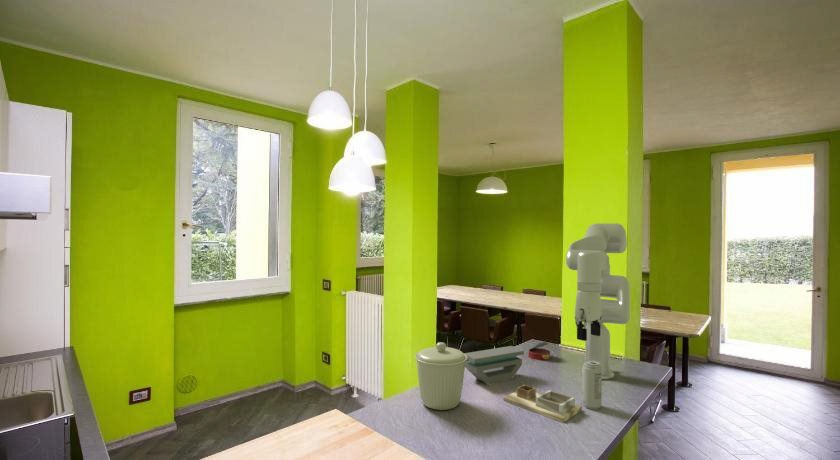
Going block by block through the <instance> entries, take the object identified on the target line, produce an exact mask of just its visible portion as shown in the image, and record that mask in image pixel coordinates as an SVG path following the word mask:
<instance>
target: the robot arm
mask: <svg viewBox="0 0 840 460" xmlns="http://www.w3.org/2000/svg"><path fill="white" fill-rule="evenodd" d="M627 241H628V240H627V232H626V229H625V227H624V226H623V225H622V224H620V223H613V222H612V223H611V222H610V223H605V222H603V223H593V224H591V225H589V226H588V227H587V229H586V233H585V235H584V236H583V237H582V238H580V239H578V240H575V241H574V242H572V243H571V244H570V245H569V247H568V250H567V252H566V256H565V264H566V267H567V268H568V269H570V270H572V271H577V272H576V273H577V276H576V277H577V282H576V283H577V284H576V285H577V286H576V289H577V290H576V291H577V293H576V295H575V296H576V297H575V305H574V306H575V307H574V320H575V321H574V322H575V327H576V340H579V341H584V342H585V345H584V347H585V349H584V350H585V353H584V361H586V360H592V361H597V362H599V363H600V366H601V368H602V380H611V379H614V378H615V373H614V371H612V370H611V366H612V365H613V364H612V362H611V333H610V330H609V329H608V327H607V326H606V325H605V324H615V325H626V324H627V323H629V320H630V316H631V315H630V314H631V312H630V311H631V307H630V306H631V304H630V303H631V301H630V300H631V298H630V295H631V293H630V292H631V291H630V290H631V289H630V282H629V279H628V278H627V277H625V276H623V275H617V274H616V275H615V274H611V264H610V257H609V255H608V254H623V253H624V252H626V249H627V247H628V242H627ZM604 298H605V299H604ZM606 298H613V299H606ZM614 299H616V300H614ZM580 370H581V373H582V368H581V369H580Z"/></svg>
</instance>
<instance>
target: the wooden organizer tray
mask: <svg viewBox="0 0 840 460" xmlns="http://www.w3.org/2000/svg"><path fill="white" fill-rule="evenodd" d="M503 401H504V402H506V403H509V404H512V405H514V406H517V407H519V406H520V408H522V409H525V410H527V411H530V412H533V413H536V414H539V415H541V416H544V417H547V418H549V419H552V420H554V421H557V422H560V423H562V424H563V423H564V422H566V421H568V420H569V419H571V418H572V417H574V416H575V415H577V414H578V413H580V412H581V411H582V410H583V409H582V406H581V405H577V404H575V403H576V398H575V397H572V396H570V395H567V394H563V393H560V392H557V391H554V390H551V389H549V390H546V391H545V392H543V393H541V392H539V391H537V388H536V387H533V386H530V385H527V384H522V385H519V386H518V387H516V391H514V392H512V393H510V394H507V395H506V396H503Z"/></svg>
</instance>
